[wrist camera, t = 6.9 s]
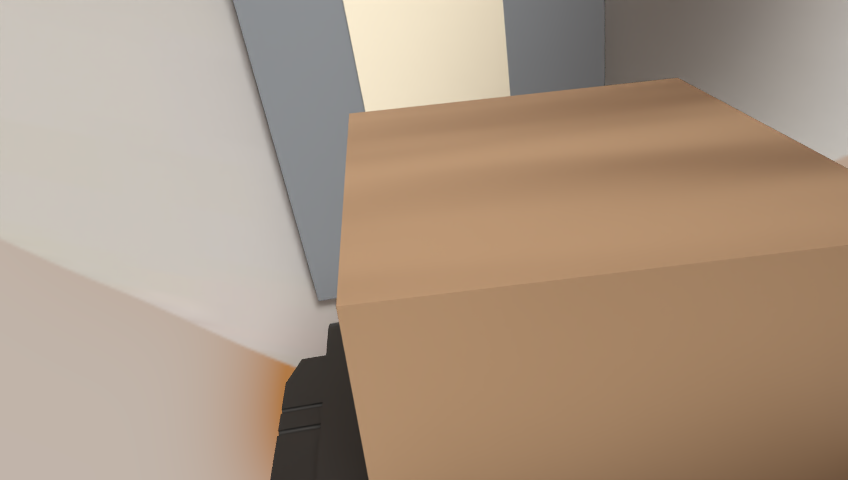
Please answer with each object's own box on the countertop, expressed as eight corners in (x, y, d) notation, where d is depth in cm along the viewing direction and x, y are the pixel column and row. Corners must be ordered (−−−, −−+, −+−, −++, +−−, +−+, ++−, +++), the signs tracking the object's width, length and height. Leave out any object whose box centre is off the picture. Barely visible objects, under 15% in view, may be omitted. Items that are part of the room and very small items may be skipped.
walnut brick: (348, 113, 9) (336, 306, 5) (677, 77, 9) (964, 231, 5) (403, 479, 13) (424, 772, 8) (633, 448, 13) (769, 720, 9)
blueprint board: (201, -133, 21) (193, -135, 20) (594, -200, 21) (605, -205, 20) (319, 289, 30) (318, 302, 29) (597, 241, 30) (605, 251, 29)
